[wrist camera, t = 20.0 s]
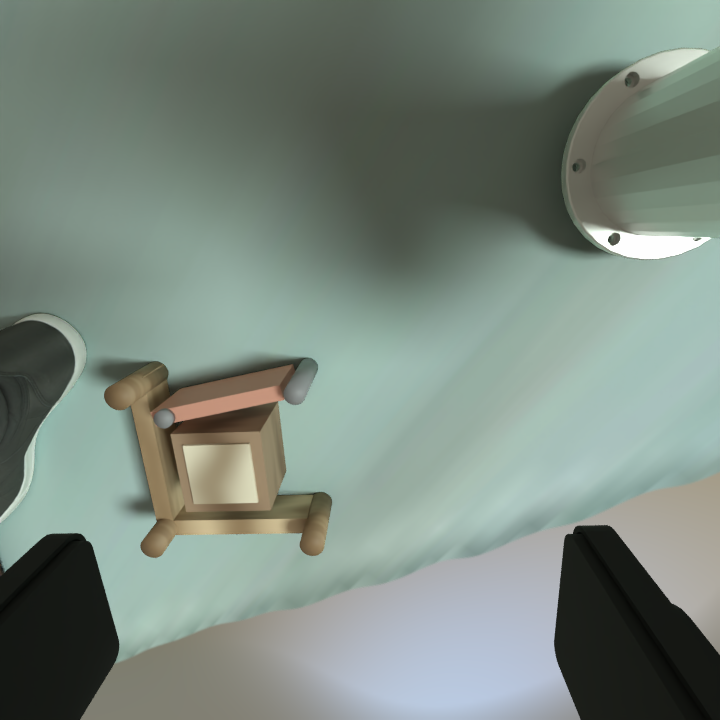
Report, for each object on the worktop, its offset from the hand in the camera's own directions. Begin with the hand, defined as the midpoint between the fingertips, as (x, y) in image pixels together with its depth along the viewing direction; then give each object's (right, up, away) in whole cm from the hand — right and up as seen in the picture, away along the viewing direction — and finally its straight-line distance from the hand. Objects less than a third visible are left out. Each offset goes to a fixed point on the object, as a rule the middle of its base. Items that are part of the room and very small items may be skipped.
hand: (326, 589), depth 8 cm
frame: (-10, -3, +31) cm, 33 cm away
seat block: (-10, -3, +31) cm, 33 cm away
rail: (-9, +3, +29) cm, 31 cm away
